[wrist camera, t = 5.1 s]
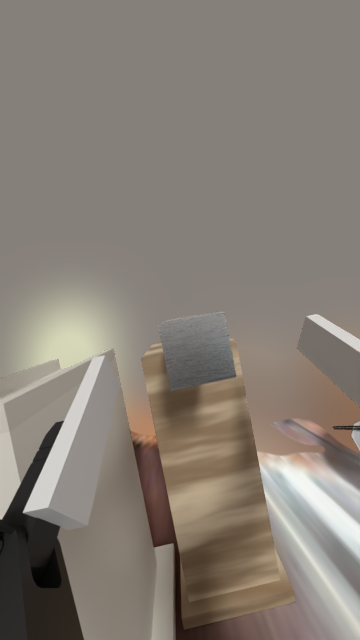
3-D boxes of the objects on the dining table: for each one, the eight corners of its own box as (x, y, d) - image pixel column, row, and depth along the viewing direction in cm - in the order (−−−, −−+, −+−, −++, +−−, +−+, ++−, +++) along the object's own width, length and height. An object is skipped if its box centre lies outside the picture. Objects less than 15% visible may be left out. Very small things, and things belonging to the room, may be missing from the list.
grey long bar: (236, 377, 10) (224, 311, 10) (170, 390, 10) (157, 324, 10) (190, 333, 38) (187, 316, 38) (173, 337, 38) (169, 319, 38)
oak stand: (295, 602, 21) (246, 339, 20) (184, 630, 21) (130, 362, 20) (246, 488, 35) (217, 330, 34) (180, 503, 35) (148, 344, 34)
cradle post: (177, 1170, 8) (16, 416, 7) (-151, 1285, 7) (-357, 492, 6) (175, 551, 28) (133, 343, 27) (88, 572, 27) (44, 360, 26)
